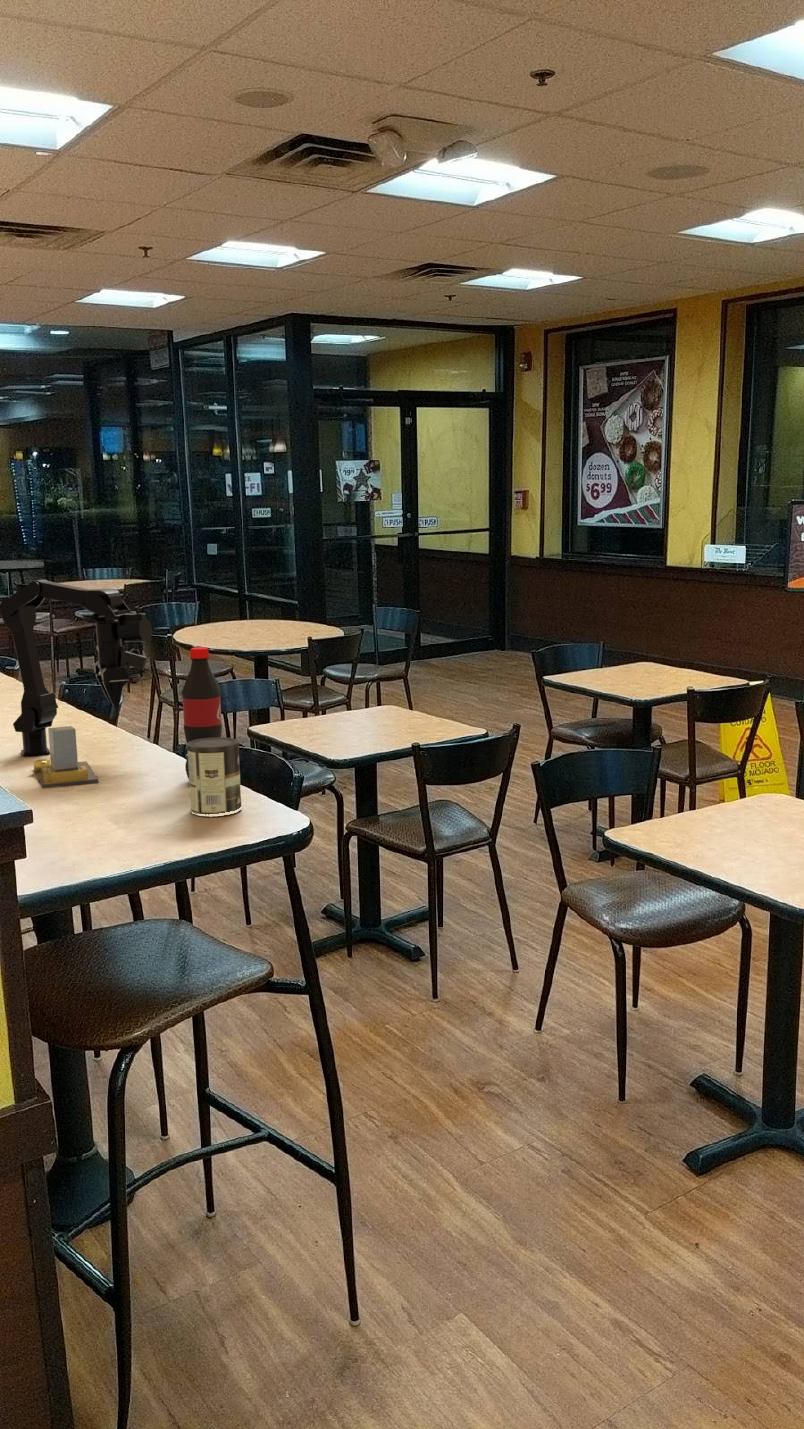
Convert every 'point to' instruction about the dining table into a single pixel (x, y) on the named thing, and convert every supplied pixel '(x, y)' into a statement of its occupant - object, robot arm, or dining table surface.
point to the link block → (63, 749)
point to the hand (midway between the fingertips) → (114, 705)
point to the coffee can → (214, 775)
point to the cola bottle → (201, 700)
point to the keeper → (63, 775)
